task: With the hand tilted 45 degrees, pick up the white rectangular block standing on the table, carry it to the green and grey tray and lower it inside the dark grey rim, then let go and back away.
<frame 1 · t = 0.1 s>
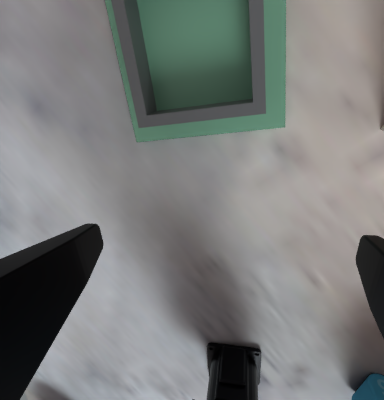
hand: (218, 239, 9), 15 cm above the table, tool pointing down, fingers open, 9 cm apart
green and grey tray: (198, 51, 20), on the table
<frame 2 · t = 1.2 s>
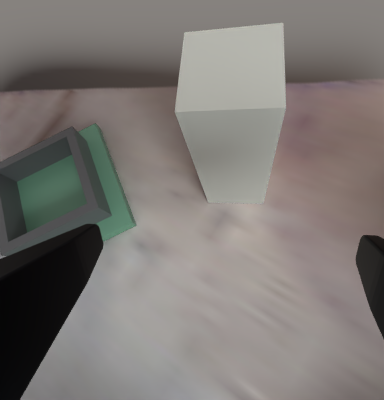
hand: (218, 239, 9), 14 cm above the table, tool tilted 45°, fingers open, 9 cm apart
green and grey tray: (63, 199, 27), on the table
white rectangular block: (236, 178, 25), on the table
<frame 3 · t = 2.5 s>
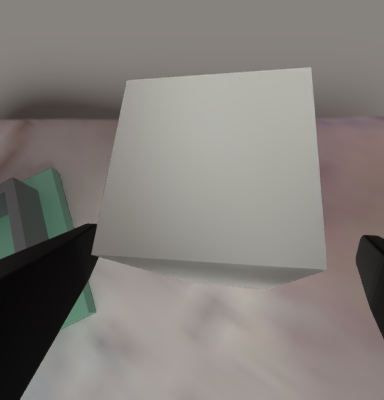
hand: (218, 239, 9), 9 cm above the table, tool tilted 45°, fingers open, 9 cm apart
green and grey tray: (5, 268, 21), on the table
white rectangular block: (230, 249, 18), on the table
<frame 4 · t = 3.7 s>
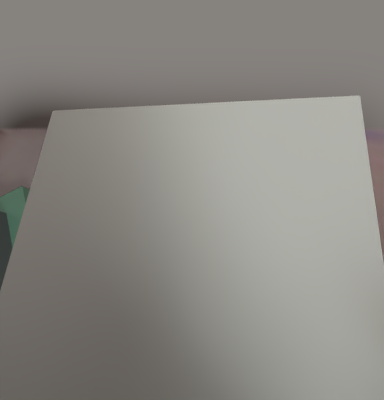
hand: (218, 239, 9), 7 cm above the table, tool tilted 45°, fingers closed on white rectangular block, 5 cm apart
white rectangular block: (227, 286, 15), on the table, touching gripper
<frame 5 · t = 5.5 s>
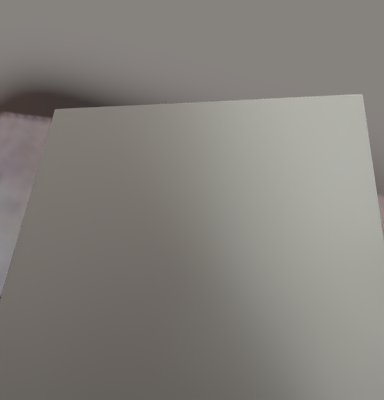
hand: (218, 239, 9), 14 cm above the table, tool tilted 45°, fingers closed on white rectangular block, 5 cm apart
white rectangular block: (227, 286, 15), point 6 cm above the table, touching gripper
when the fingers open (9 cm above the table, at t = 7.5 s): white rectangular block drops 1 cm, resting on green and grey tray.
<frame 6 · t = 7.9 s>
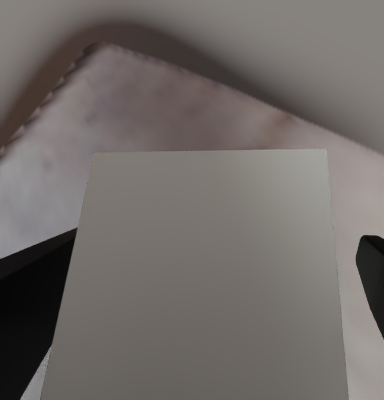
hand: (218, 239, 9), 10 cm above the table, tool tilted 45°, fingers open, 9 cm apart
white rectangular block: (227, 287, 17), point 1 cm above the table, touching green and grey tray
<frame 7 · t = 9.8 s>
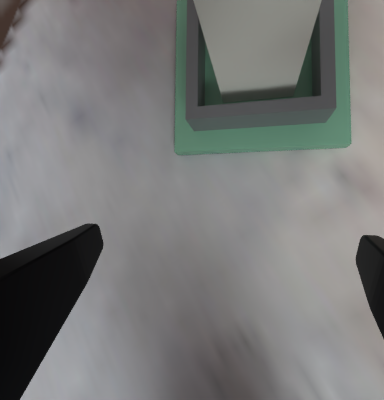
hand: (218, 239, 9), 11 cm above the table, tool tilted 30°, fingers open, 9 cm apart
green and grey tray: (256, 72, 20), on the table
white rectangular block: (256, 66, 19), point 1 cm above the table, touching green and grey tray
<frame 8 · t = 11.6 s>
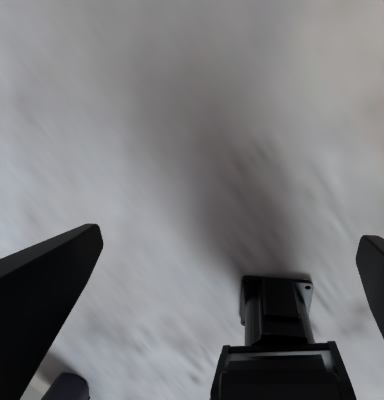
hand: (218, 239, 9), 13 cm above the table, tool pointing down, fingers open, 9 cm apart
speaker: (71, 382, 42), on the table
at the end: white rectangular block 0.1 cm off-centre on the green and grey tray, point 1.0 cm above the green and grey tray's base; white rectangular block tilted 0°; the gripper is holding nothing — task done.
